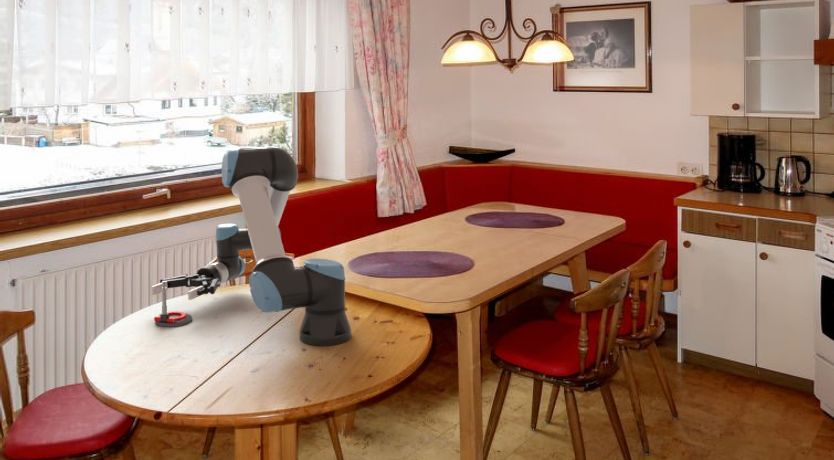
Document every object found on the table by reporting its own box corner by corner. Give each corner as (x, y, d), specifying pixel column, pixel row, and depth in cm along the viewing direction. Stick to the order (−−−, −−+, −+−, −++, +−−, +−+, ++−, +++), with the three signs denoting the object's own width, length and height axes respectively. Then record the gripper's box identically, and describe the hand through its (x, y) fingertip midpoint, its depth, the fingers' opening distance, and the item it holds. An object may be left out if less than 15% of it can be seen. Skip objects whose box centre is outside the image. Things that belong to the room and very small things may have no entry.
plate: (185, 327, 226) (185, 324, 226) (149, 326, 226) (149, 324, 226) (196, 315, 237) (196, 312, 236) (162, 315, 237) (162, 312, 236)
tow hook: (168, 313, 236) (151, 321, 228) (167, 274, 234) (149, 280, 225) (191, 316, 234) (175, 324, 226) (191, 276, 232) (174, 283, 223)
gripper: (244, 290, 245) (205, 309, 226) (181, 282, 253) (138, 300, 234) (243, 268, 244) (204, 285, 224) (180, 261, 252) (137, 277, 232)
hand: (170, 293), depth 229 cm, fingers open, 13 cm apart
